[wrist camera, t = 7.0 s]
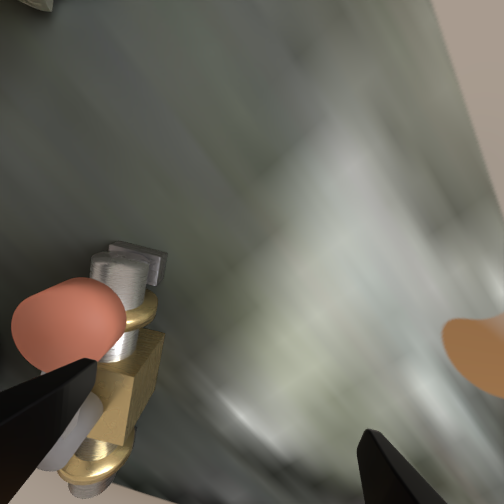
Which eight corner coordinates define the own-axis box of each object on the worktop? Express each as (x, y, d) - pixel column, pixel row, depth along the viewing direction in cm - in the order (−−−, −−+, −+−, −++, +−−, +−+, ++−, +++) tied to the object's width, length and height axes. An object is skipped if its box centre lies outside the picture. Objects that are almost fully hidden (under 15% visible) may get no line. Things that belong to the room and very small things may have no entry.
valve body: (143, 448, 26) (107, 524, 20) (84, 434, 26) (31, 505, 20) (179, 256, 21) (146, 281, 15) (107, 237, 21) (46, 255, 15)
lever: (110, 431, 18) (72, 491, 14) (49, 412, 18) (-5, 467, 14) (146, 282, 15) (109, 310, 12) (74, 259, 15) (15, 280, 12)
